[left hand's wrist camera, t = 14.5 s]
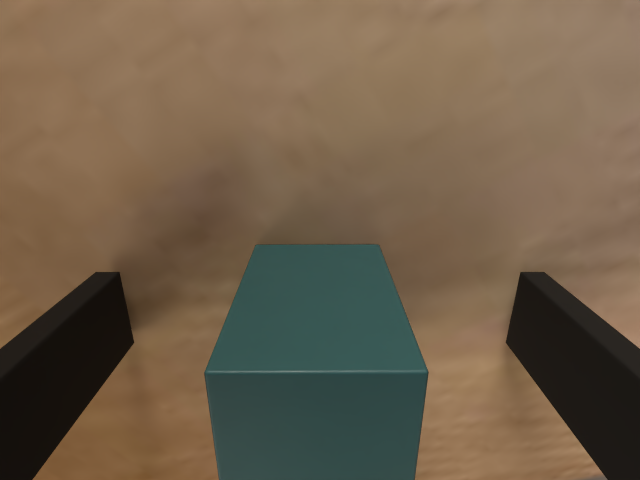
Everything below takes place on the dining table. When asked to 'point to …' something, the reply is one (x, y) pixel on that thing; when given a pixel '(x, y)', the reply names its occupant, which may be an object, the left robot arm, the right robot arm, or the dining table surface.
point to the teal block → (316, 370)
